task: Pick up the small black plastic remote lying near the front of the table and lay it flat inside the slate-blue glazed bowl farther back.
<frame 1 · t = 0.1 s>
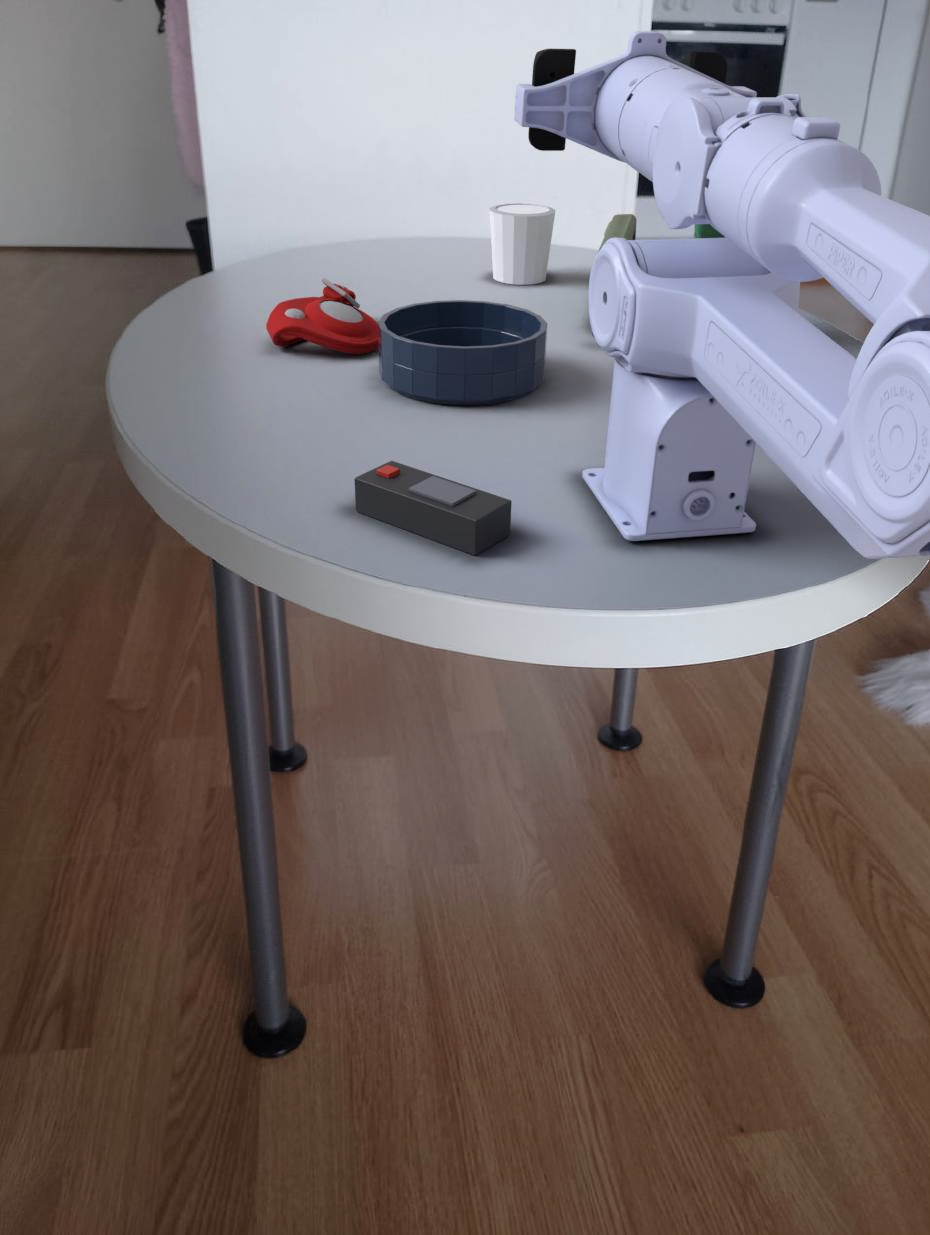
hand: (595, 82, 70), 22 cm above the table, tool horizontal, fingers open, 7 cm apart
remote: (431, 522, 62), on the table
bowl: (462, 378, 84), on the table
white cup: (519, 280, 112), on the table
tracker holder: (336, 341, 93), on the table
handheld radio: (610, 311, 102), on the table
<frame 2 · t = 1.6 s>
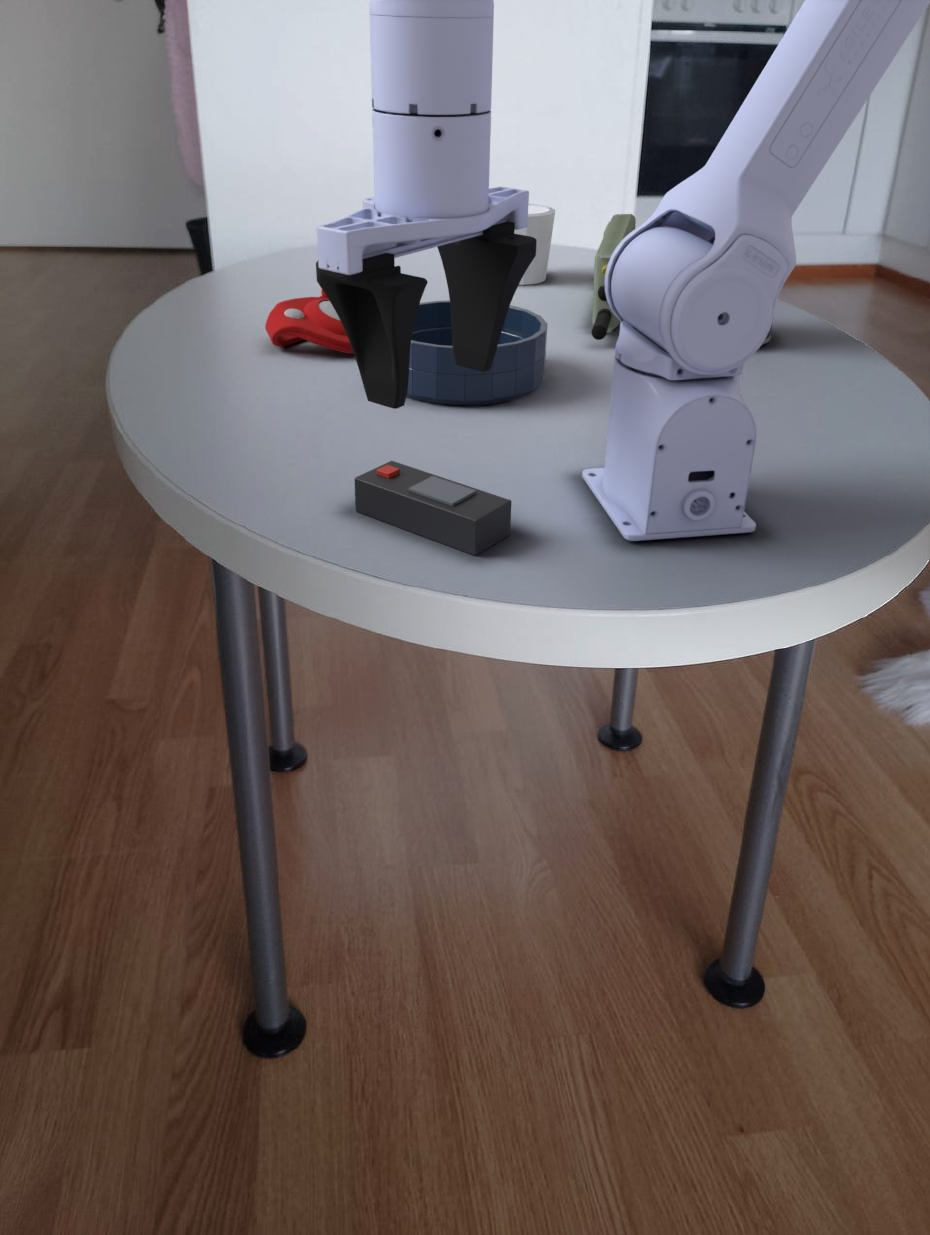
hand: (431, 384, 58), 8 cm above the table, tool pointing down, fingers open, 7 cm apart
nothing on the table moved.
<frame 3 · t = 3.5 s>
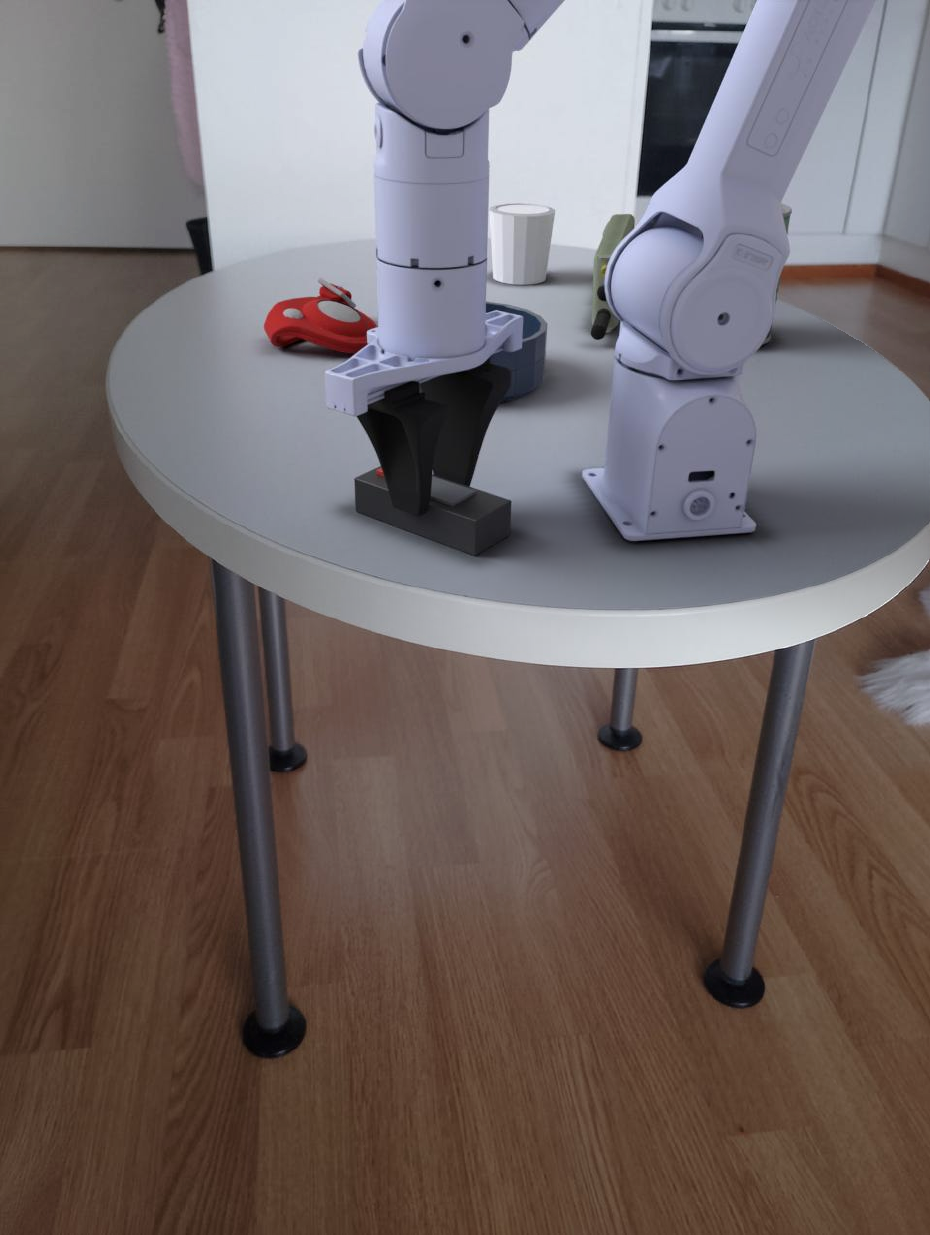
hand: (431, 498, 61), 2 cm above the table, tool pointing down, fingers closed on remote, 3 cm apart
remote: (431, 523, 62), on the table, touching gripper
everything else where it was.
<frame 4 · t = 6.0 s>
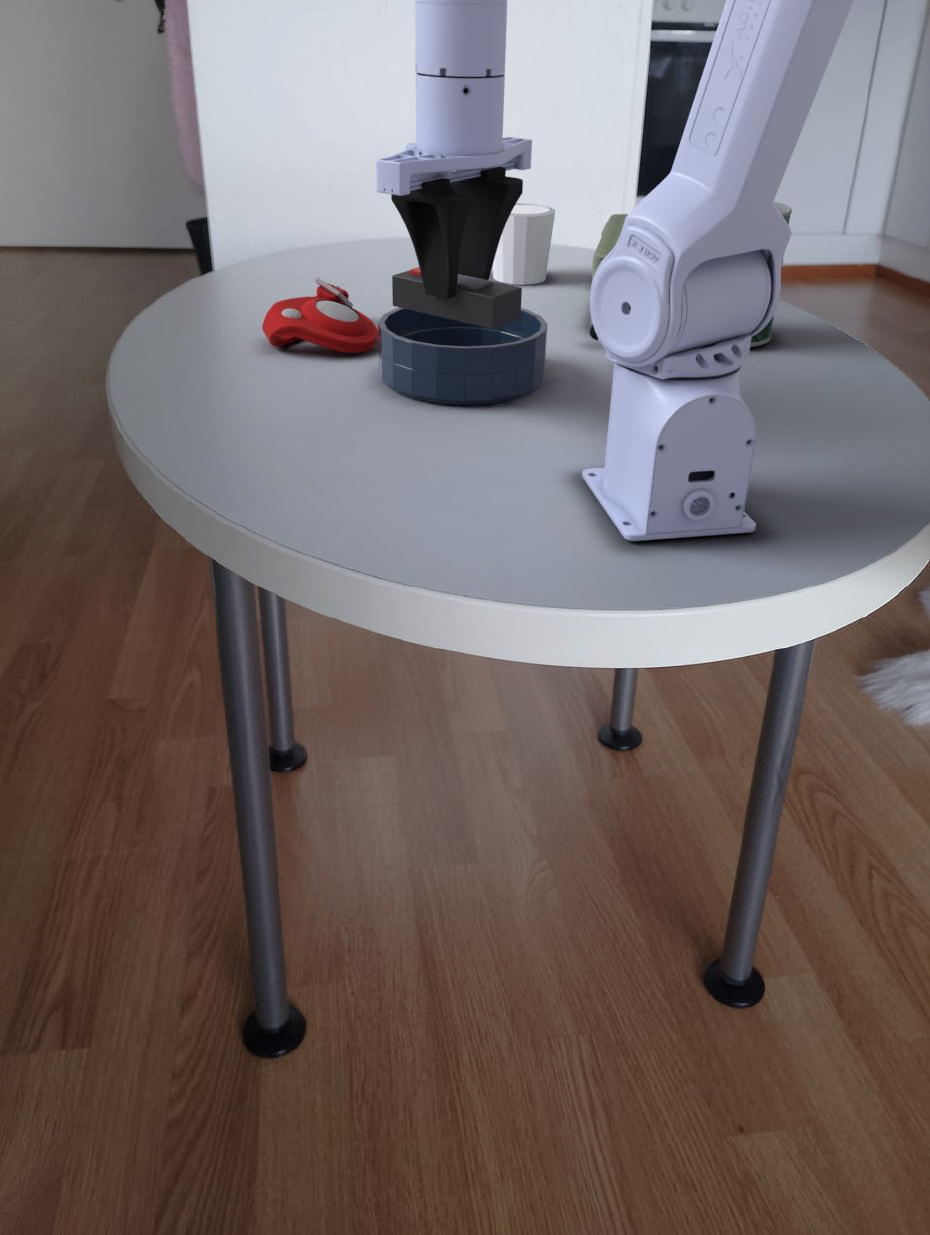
hand: (457, 289, 75), 8 cm above the table, tool pointing down, fingers closed on remote, 3 cm apart
remote: (455, 312, 75), point 7 cm above the table, touching gripper
everything else where it was.
when the fingers open (2 cm above the table, at t = 8.5 s): remote stays where it is, resting on bowl.
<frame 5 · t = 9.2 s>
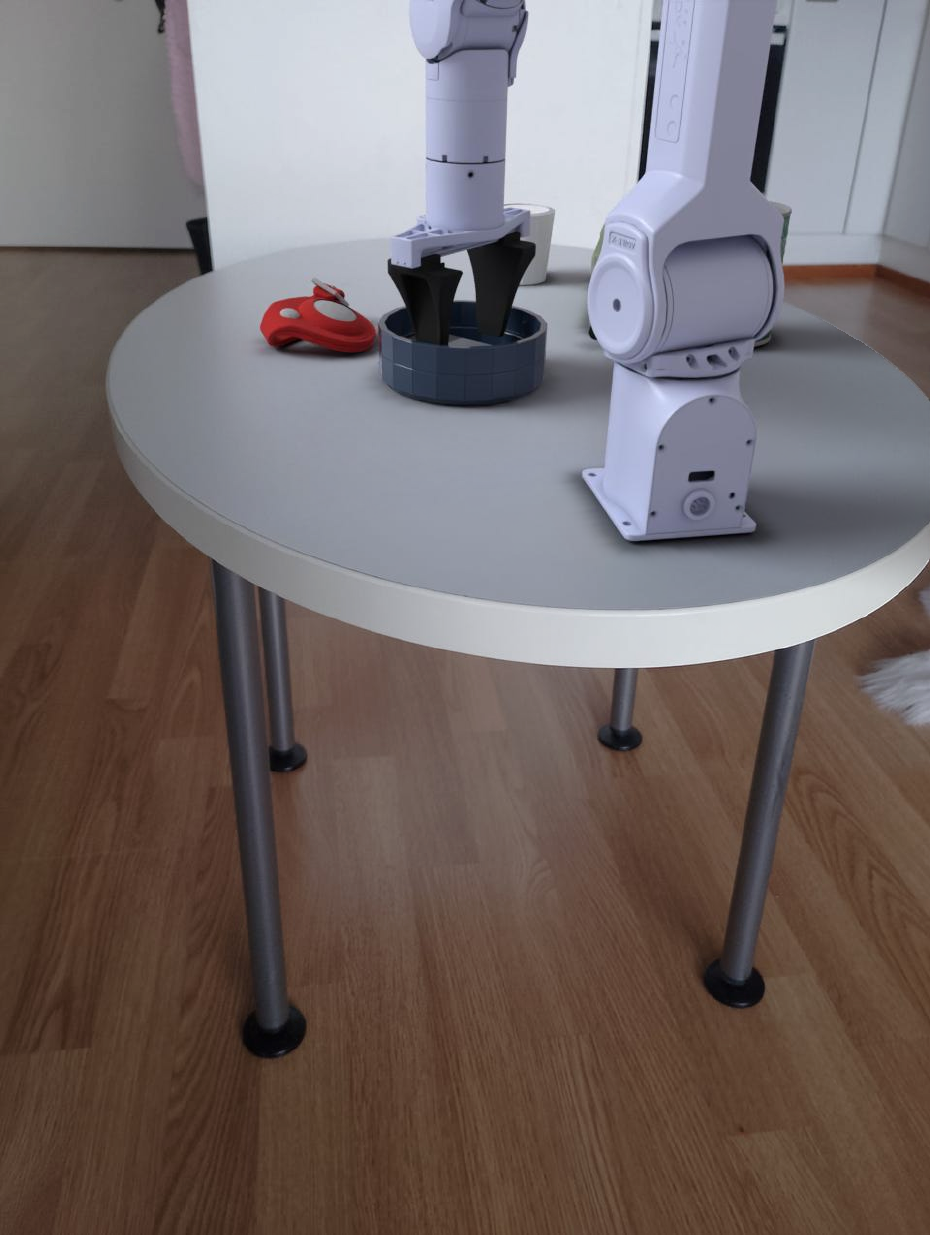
hand: (462, 345, 83), 3 cm above the table, tool pointing down, fingers open, 7 cm apart
remote: (461, 372, 84), resting on bowl
everything else where it was.
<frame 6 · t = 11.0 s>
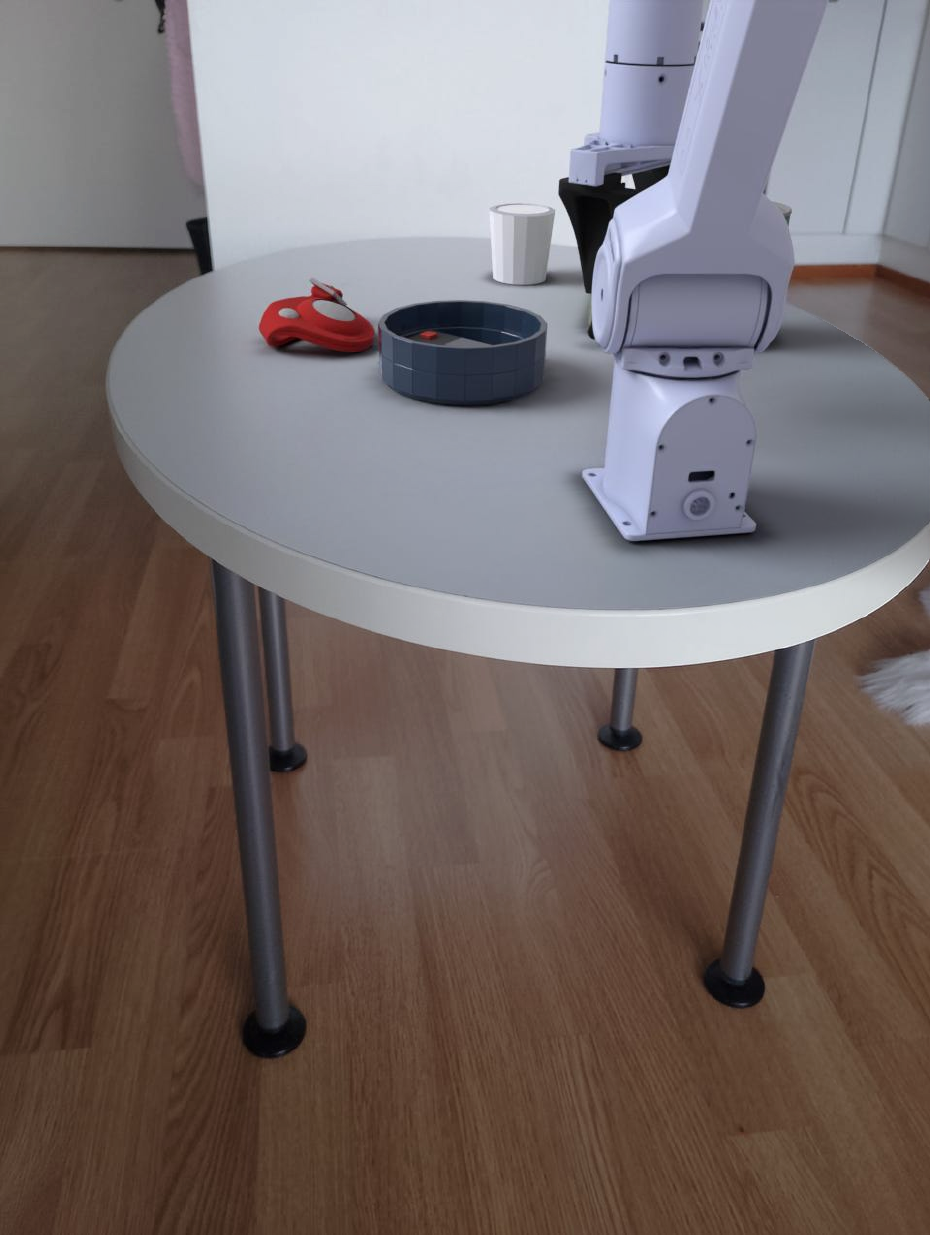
hand: (628, 283, 73), 9 cm above the table, tool pointing down, fingers open, 7 cm apart
nothing on the table moved.
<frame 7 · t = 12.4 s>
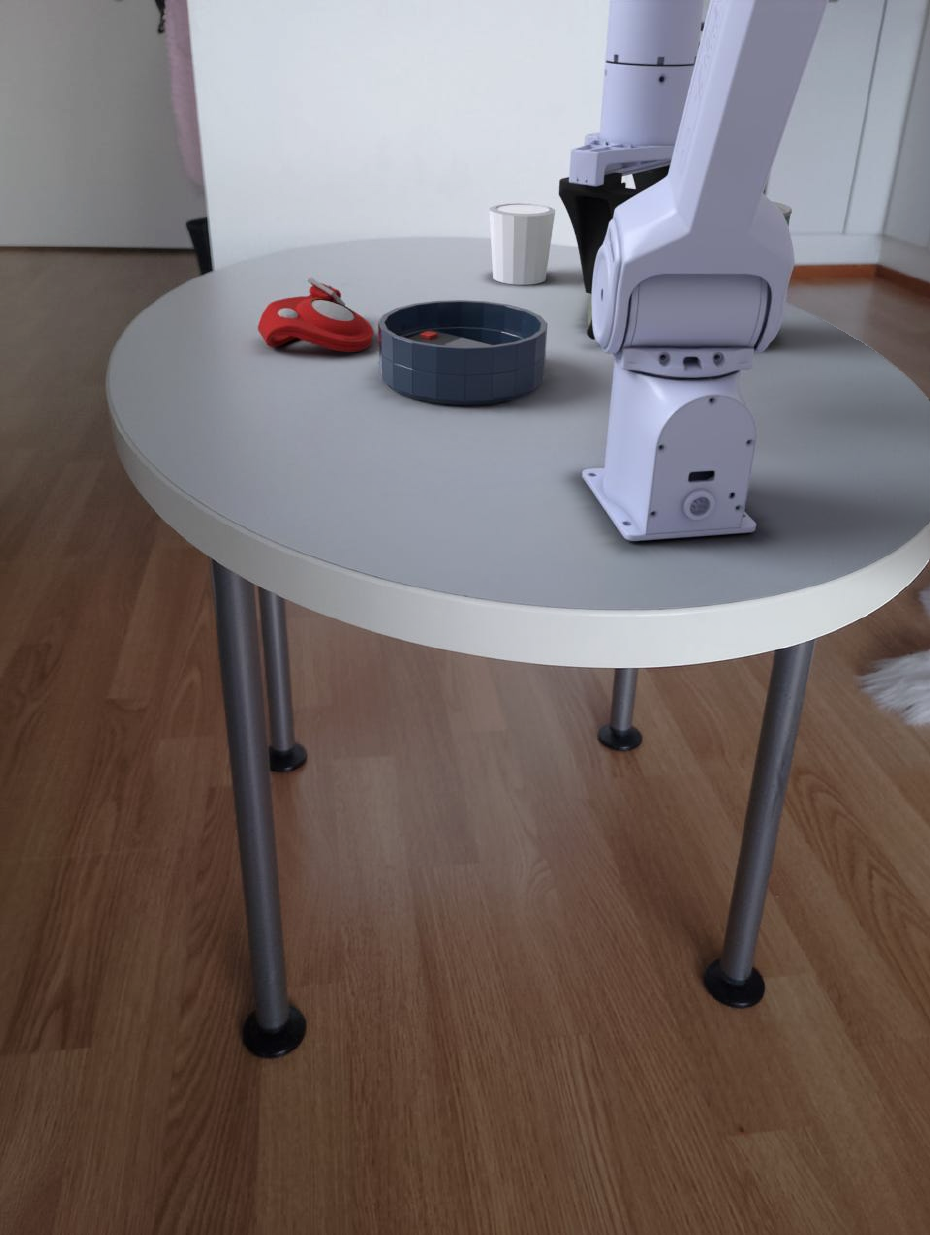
hand: (629, 283, 73), 9 cm above the table, tool pointing down, fingers open, 7 cm apart
nothing on the table moved.
at the end: remote inside the target area in the bowl (0.1 cm from its centre), point 0.5 cm above the bowl's base; the gripper is holding nothing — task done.
